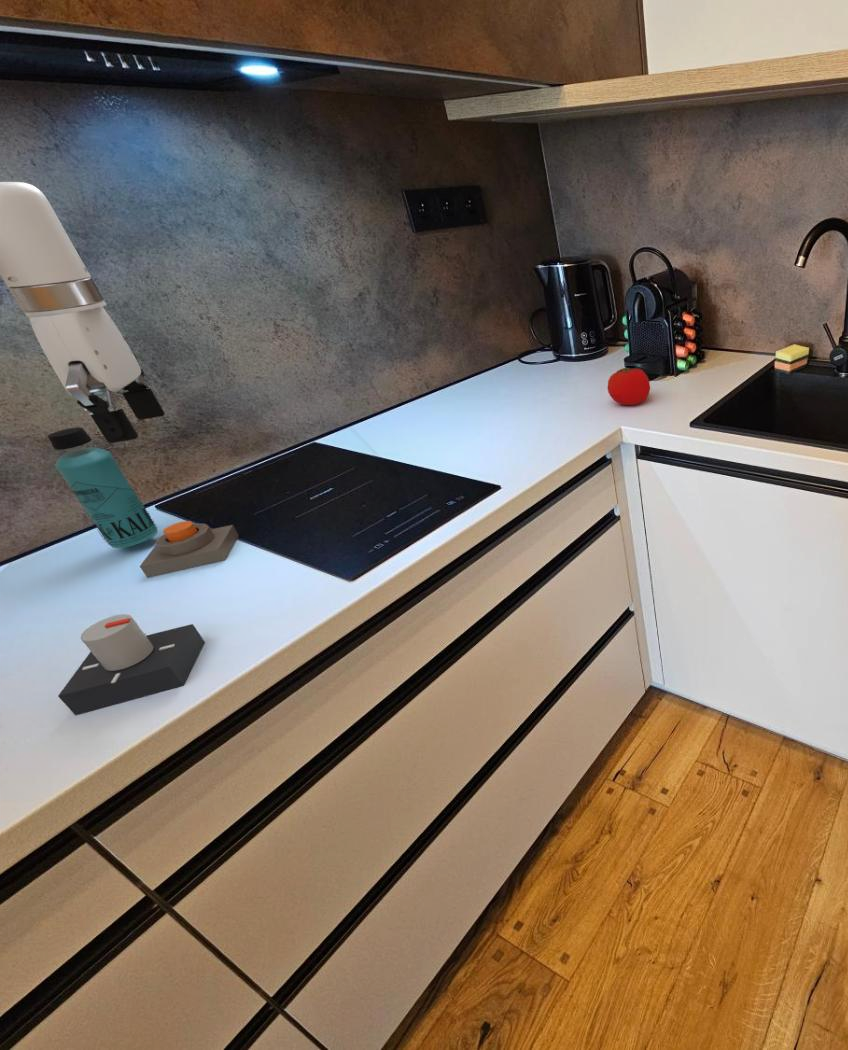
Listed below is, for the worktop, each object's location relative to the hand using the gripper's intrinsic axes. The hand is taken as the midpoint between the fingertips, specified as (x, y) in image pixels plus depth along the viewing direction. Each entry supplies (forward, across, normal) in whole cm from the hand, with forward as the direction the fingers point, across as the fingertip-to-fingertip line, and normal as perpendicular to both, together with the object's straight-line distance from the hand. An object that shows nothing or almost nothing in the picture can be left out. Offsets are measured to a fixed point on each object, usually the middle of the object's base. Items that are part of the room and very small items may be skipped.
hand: (138, 428), depth 81 cm
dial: (+18, +29, 0) cm, 34 cm away
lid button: (+17, 0, -2) cm, 17 cm away
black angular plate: (+21, +29, 0) cm, 36 cm away
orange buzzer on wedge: (+21, 0, -2) cm, 21 cm away
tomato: (+21, -31, +78) cm, 86 cm away
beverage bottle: (+21, -9, -12) cm, 26 cm away
